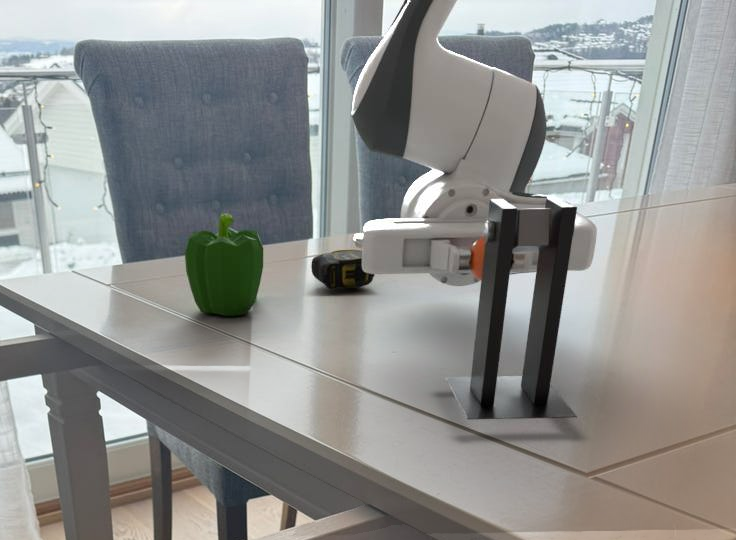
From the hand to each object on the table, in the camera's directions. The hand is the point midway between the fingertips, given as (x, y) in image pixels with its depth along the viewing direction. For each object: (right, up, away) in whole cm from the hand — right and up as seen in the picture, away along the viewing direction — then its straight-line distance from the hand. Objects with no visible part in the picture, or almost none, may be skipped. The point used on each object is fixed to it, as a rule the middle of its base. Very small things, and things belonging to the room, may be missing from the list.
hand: (492, 262), depth 76 cm
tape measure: (-10, +10, +33) cm, 35 cm away
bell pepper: (-23, +4, +24) cm, 34 cm away
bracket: (0, -13, -4) cm, 14 cm away
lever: (0, -2, -4) cm, 5 cm away
